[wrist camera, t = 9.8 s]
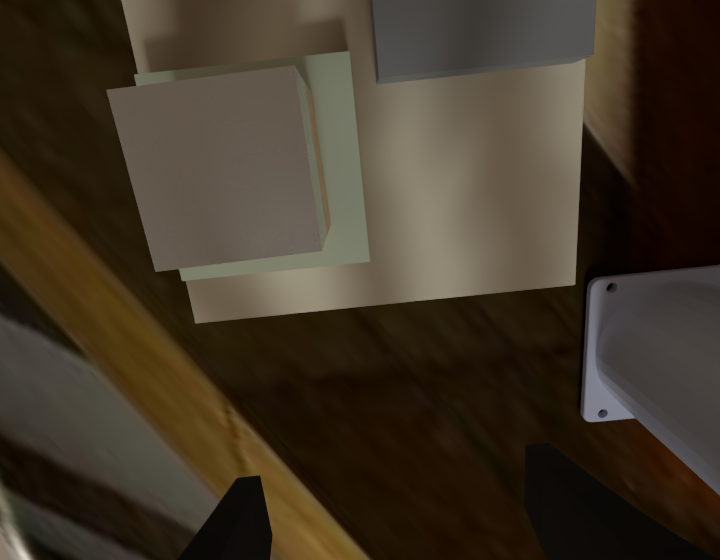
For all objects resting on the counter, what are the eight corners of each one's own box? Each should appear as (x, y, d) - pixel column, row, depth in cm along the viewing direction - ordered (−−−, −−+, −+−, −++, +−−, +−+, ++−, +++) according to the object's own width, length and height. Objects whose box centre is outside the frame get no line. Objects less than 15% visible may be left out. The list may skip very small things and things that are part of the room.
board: (582, -185, 15) (597, -207, 15) (564, 278, 21) (575, 284, 20) (104, -129, 16) (87, -148, 15) (202, 315, 21) (195, 323, 20)
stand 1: (349, 60, 17) (349, 51, 15) (368, 253, 19) (369, 261, 18) (152, 81, 17) (133, 74, 15) (194, 271, 19) (181, 281, 18)
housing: (312, 93, 16) (294, 65, 11) (330, 225, 17) (322, 251, 12) (181, 110, 16) (106, 90, 11) (210, 239, 17) (155, 271, 12)
